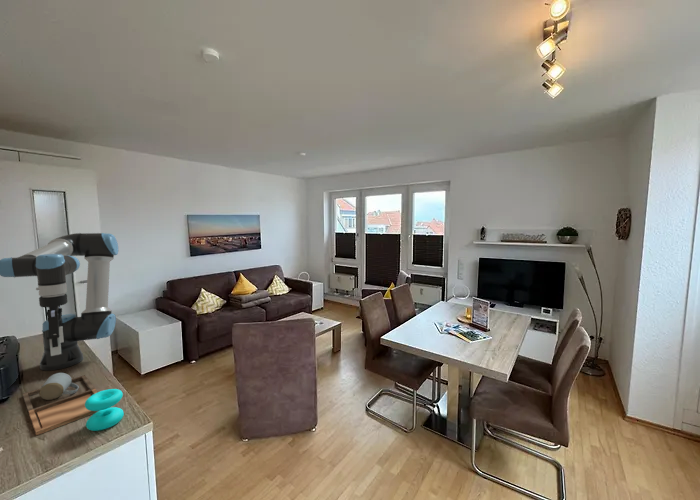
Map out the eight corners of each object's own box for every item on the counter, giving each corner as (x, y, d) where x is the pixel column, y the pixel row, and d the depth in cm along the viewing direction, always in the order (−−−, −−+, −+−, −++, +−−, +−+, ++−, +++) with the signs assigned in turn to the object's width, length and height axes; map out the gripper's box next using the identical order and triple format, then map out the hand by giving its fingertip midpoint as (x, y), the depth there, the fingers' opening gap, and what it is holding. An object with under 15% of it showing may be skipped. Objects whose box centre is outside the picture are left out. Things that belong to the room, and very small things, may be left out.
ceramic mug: (38, 403, 112) (37, 384, 111) (47, 392, 119) (46, 374, 118) (75, 396, 117) (74, 378, 116) (81, 386, 124) (81, 369, 123)
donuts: (119, 384, 108) (125, 395, 101) (120, 409, 109) (126, 422, 102) (82, 395, 100) (86, 407, 94) (84, 423, 101) (88, 437, 94)
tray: (22, 396, 116) (22, 393, 116) (84, 377, 131) (84, 375, 130) (36, 435, 95) (35, 432, 95) (108, 407, 110) (108, 404, 109)
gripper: (42, 290, 119) (47, 340, 121) (34, 303, 100) (39, 363, 102) (68, 287, 123) (72, 336, 126) (64, 300, 105) (69, 357, 107)
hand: (57, 348), depth 114 cm, fingers open, 13 cm apart
